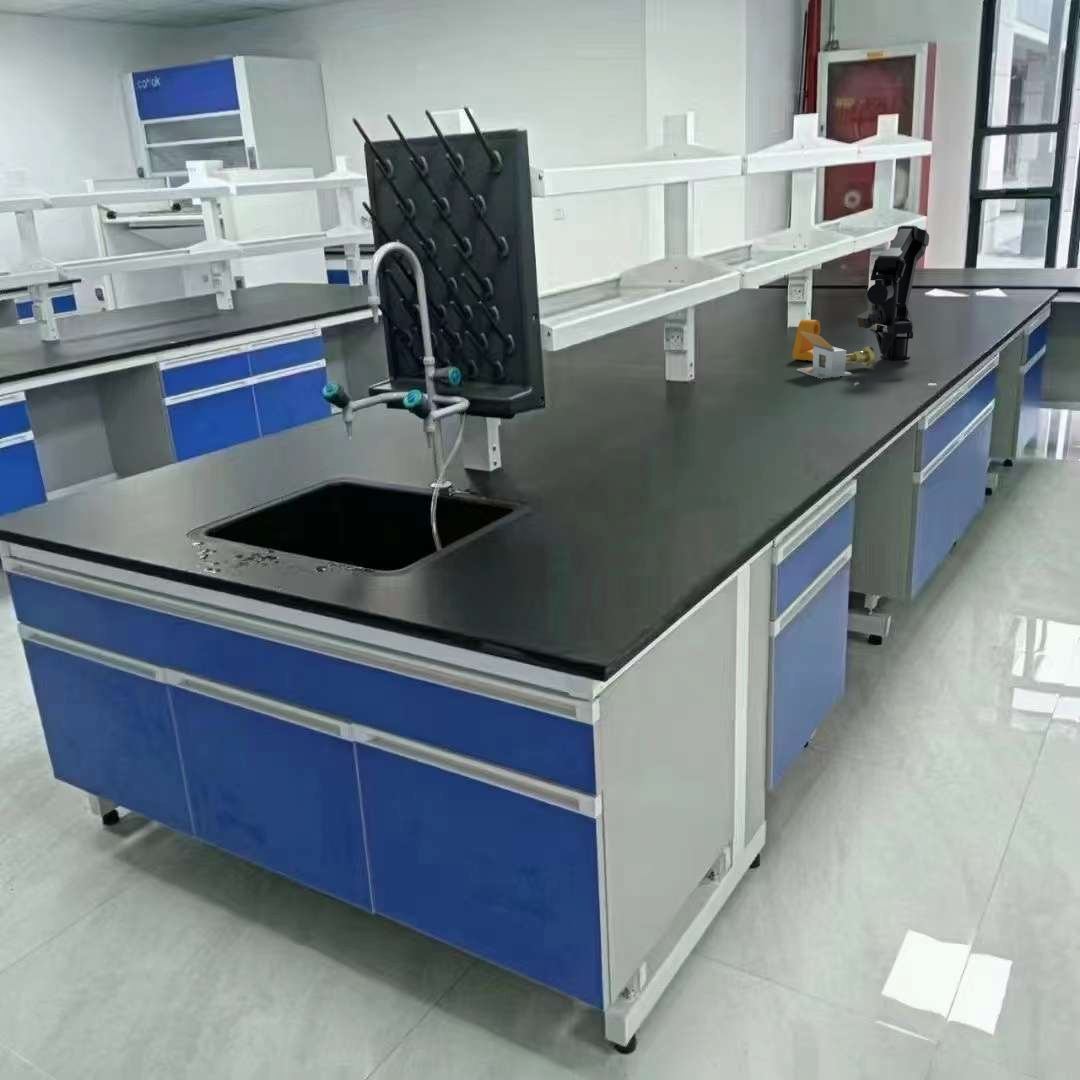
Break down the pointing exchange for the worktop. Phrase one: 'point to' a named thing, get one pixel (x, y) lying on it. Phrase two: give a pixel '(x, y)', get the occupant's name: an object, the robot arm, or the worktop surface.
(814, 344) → the tan flat plate
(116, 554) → the worktop surface
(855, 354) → the pin
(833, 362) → the hitch block
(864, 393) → the worktop surface
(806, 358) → the bracket
